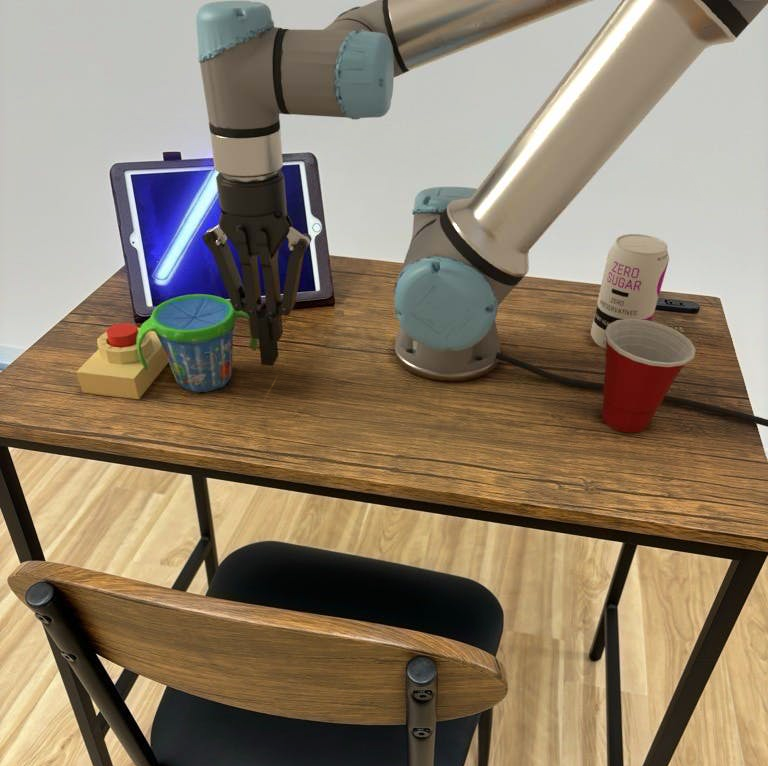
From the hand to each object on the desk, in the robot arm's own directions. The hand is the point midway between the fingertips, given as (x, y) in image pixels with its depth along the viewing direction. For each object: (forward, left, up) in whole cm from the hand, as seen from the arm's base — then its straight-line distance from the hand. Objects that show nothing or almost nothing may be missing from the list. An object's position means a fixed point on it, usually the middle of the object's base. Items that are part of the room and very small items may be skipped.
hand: (270, 360), depth 97 cm
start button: (+20, 0, 0) cm, 20 cm away
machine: (+20, 0, -4) cm, 21 cm away
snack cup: (+10, 0, -5) cm, 11 cm away
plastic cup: (-47, -2, -5) cm, 47 cm away
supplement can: (-47, -24, -5) cm, 53 cm away
